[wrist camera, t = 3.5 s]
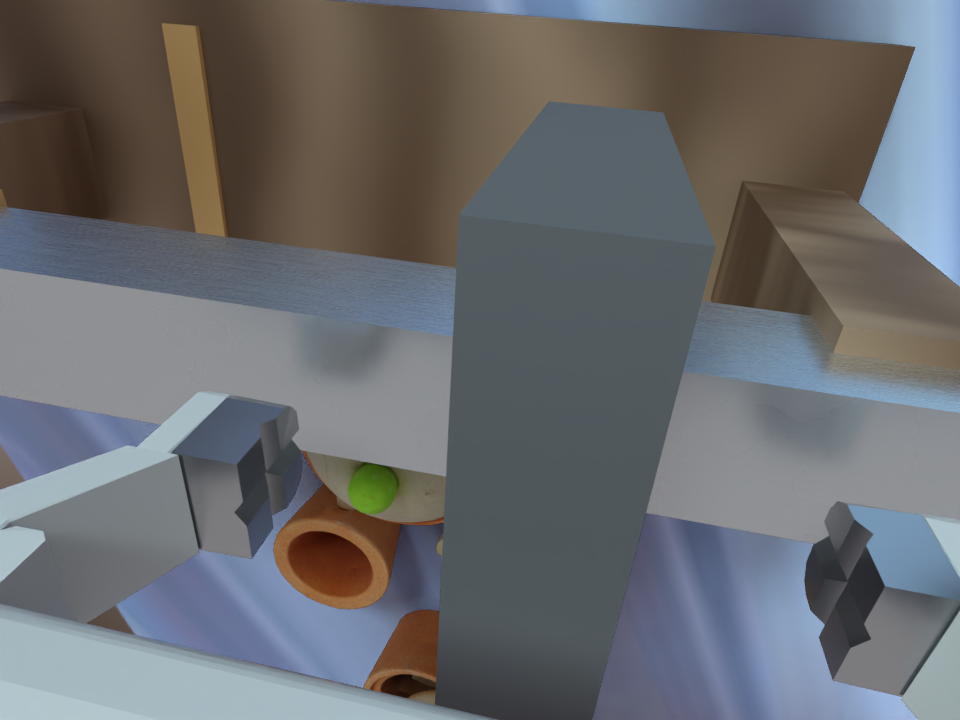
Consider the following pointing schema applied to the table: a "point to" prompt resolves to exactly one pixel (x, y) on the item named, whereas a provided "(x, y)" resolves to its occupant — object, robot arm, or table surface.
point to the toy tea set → (366, 557)
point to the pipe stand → (434, 234)
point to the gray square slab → (560, 402)
